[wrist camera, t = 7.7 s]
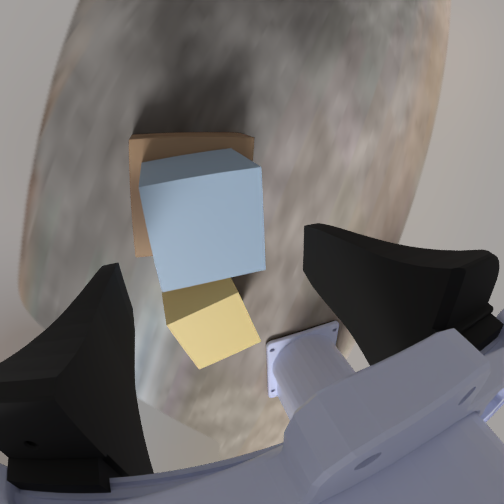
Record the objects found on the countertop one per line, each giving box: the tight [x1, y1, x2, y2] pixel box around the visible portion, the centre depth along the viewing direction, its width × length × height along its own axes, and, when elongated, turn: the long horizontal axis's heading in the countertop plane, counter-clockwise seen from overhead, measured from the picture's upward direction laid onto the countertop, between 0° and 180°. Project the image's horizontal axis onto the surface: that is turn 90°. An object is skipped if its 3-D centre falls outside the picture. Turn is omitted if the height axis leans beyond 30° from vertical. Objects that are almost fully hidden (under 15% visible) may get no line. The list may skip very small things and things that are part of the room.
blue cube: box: [139, 148, 266, 292], centre depth 15 cm, size 5×5×5 cm
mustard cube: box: [161, 278, 261, 369], centre depth 22 cm, size 5×5×5 cm
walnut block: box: [129, 132, 254, 257], centre depth 19 cm, size 7×7×4 cm
